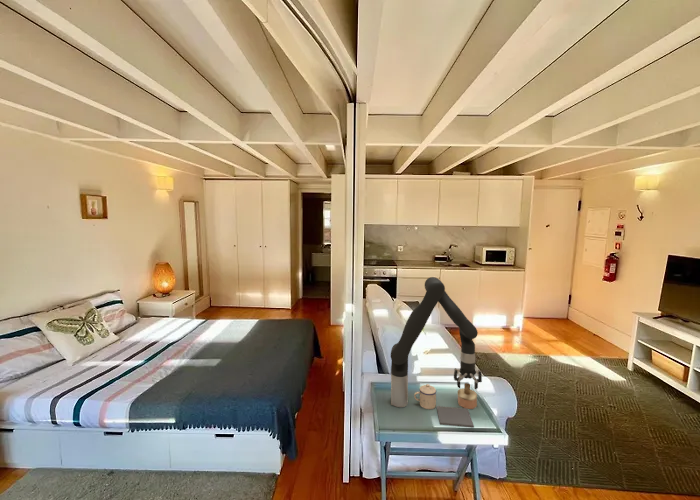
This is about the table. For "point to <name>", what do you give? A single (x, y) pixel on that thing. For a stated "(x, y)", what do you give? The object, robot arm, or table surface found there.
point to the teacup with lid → (427, 396)
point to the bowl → (467, 403)
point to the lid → (467, 393)
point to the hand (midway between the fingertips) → (467, 388)
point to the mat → (454, 416)
